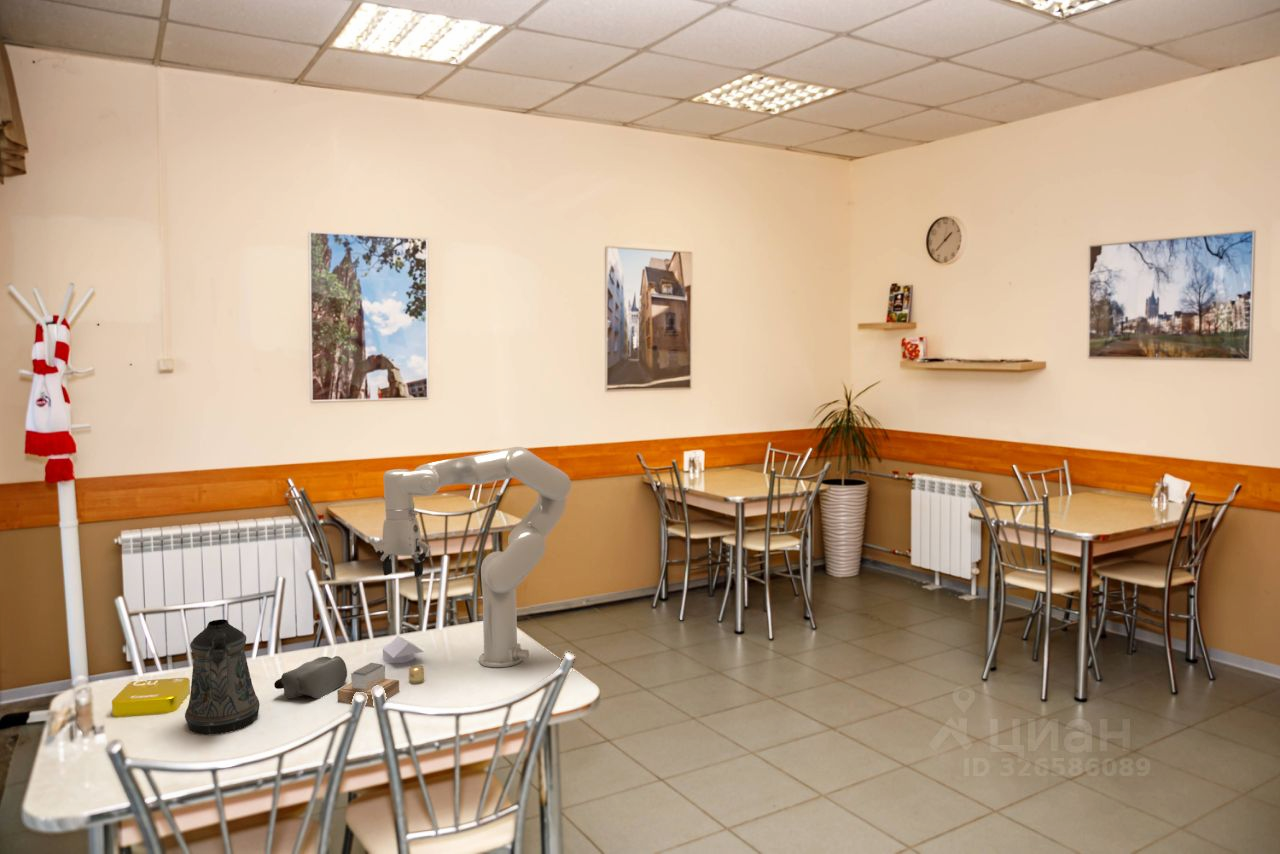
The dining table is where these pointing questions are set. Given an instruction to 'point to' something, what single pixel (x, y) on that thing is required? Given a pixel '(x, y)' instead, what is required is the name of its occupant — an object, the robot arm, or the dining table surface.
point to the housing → (368, 676)
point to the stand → (368, 691)
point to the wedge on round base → (400, 651)
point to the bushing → (416, 674)
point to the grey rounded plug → (314, 678)
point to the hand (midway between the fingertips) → (403, 575)
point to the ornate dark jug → (220, 682)
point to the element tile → (151, 697)
